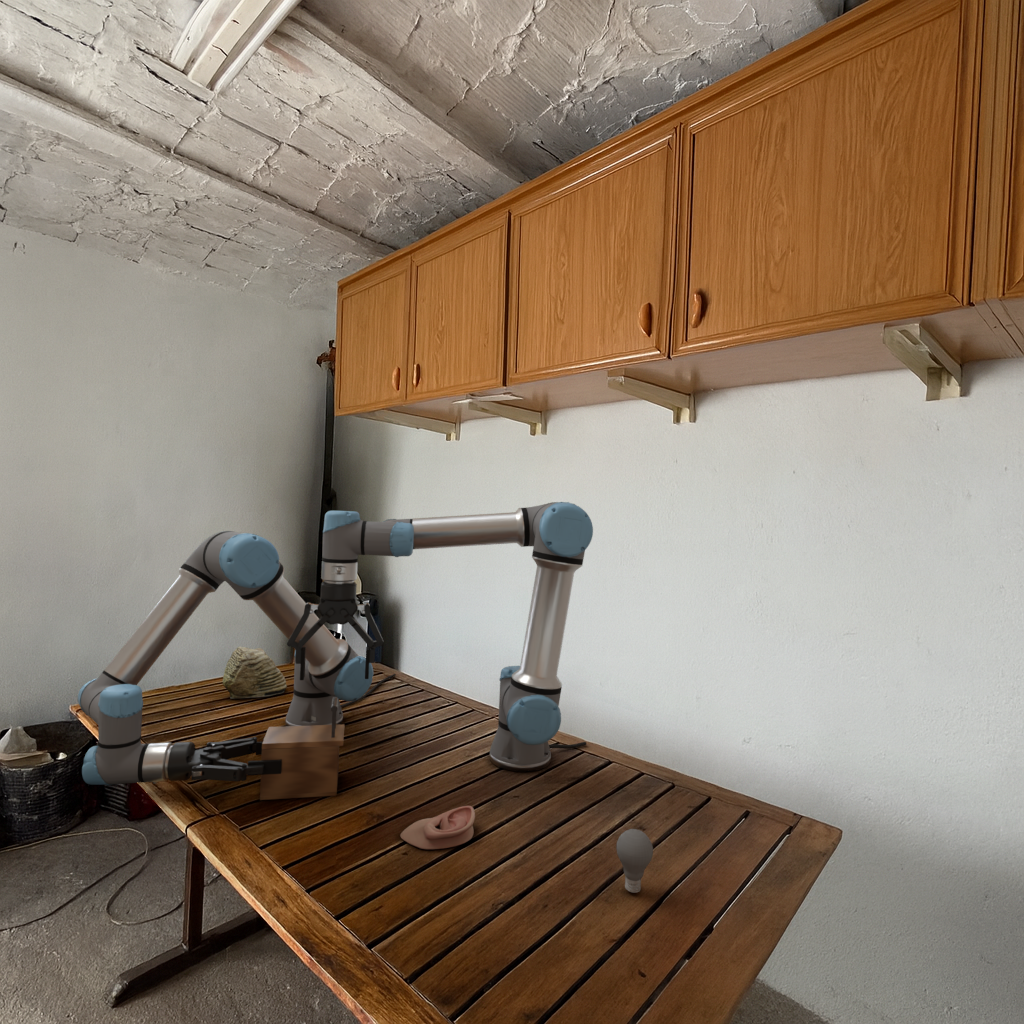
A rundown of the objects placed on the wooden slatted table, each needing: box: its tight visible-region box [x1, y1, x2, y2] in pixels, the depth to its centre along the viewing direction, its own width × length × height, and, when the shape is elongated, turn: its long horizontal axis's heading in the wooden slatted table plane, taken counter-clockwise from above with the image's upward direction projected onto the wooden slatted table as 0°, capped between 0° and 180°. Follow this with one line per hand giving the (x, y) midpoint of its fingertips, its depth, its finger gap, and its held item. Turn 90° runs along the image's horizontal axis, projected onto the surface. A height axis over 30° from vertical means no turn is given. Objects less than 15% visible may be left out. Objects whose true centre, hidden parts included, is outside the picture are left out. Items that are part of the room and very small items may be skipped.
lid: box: [262, 697, 346, 749], centre depth 137 cm, size 16×10×8 cm, turn 103°
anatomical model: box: [399, 805, 476, 850], centre depth 121 cm, size 13×4×12 cm
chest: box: [259, 746, 340, 801], centre depth 138 cm, size 15×10×11 cm, turn 103°
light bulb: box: [615, 828, 654, 894], centre depth 106 cm, size 6×6×10 cm
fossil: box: [222, 646, 288, 699], centre depth 198 cm, size 9×18×15 cm, turn 132°
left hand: (284, 756), depth 137 cm, fingers closed on chest, 10 cm apart
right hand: (334, 678), depth 139 cm, fingers open, 13 cm apart
